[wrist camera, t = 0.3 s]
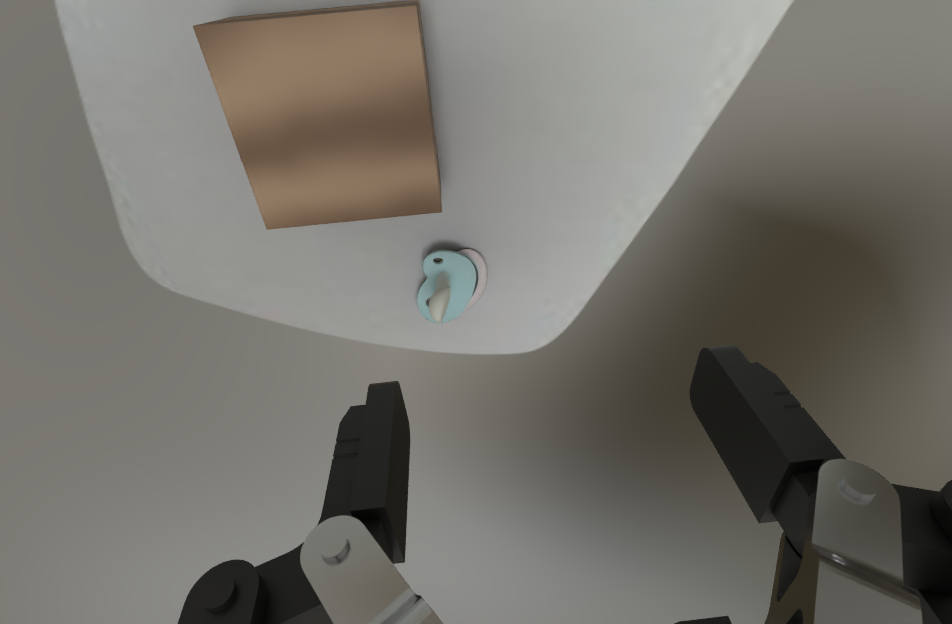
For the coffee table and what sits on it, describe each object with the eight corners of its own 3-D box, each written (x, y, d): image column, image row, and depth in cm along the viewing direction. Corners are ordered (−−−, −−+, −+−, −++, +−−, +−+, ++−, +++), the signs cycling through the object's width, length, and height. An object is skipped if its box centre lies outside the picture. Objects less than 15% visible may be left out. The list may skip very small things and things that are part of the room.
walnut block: (231, 17, 30) (192, 26, 26) (418, -1, 31) (416, 5, 26) (288, 195, 37) (266, 229, 33) (440, 180, 38) (441, 212, 33)
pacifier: (494, 244, 42) (425, 235, 40) (505, 283, 37) (427, 274, 35) (477, 312, 46) (414, 305, 45) (485, 355, 41) (414, 349, 40)
